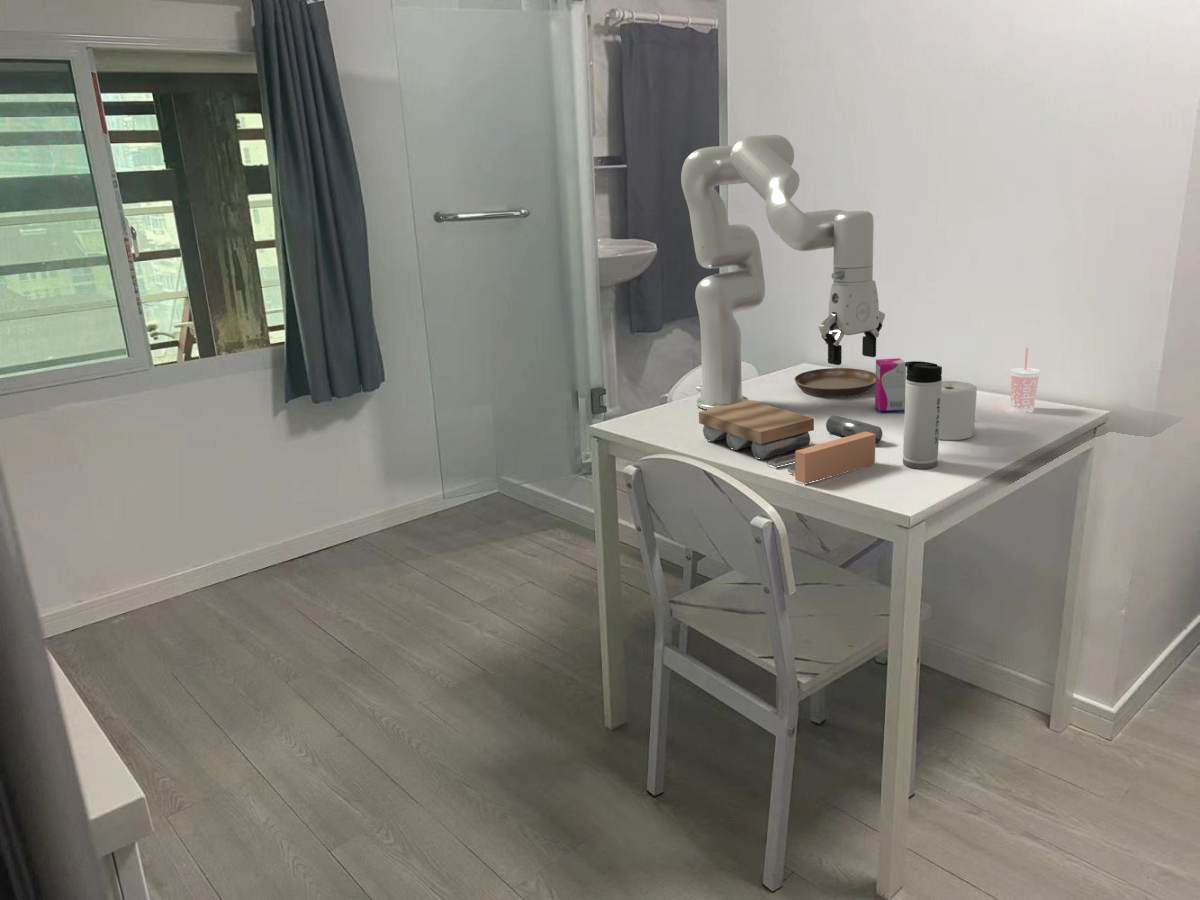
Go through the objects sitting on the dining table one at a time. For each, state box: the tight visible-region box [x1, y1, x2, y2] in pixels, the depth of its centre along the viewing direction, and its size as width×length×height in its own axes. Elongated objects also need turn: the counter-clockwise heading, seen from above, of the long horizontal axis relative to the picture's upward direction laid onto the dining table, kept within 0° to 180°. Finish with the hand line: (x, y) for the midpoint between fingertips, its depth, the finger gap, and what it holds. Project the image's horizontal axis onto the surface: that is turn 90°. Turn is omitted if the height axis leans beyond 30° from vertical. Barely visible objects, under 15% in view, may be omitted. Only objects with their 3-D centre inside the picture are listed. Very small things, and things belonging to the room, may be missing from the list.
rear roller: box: [702, 425, 728, 442], centre depth 199 cm, size 4×12×4 cm, turn 121°
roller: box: [825, 414, 883, 445], centre depth 193 cm, size 12×4×4 cm
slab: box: [698, 399, 815, 444], centre depth 192 cm, size 20×14×2 cm
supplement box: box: [874, 357, 907, 414], centre depth 211 cm, size 6×6×12 cm
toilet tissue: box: [939, 380, 978, 441], centre depth 191 cm, size 11×12×10 cm
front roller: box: [751, 432, 811, 460], centre depth 186 cm, size 4×12×4 cm, turn 121°
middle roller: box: [726, 433, 753, 451], centre depth 193 cm, size 4×12×4 cm, turn 121°
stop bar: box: [794, 431, 876, 484], centre depth 173 cm, size 2×18×6 cm, turn 121°
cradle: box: [767, 453, 795, 474], centre depth 180 cm, size 8×14×1 cm, turn 121°
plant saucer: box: [793, 367, 876, 398], centre depth 232 cm, size 21×21×3 cm
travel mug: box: [902, 360, 943, 470], centre depth 173 cm, size 6×7×20 cm
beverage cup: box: [1009, 347, 1042, 413], centre depth 203 cm, size 6×6×14 cm
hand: (852, 360), depth 188 cm, fingers open, 9 cm apart
